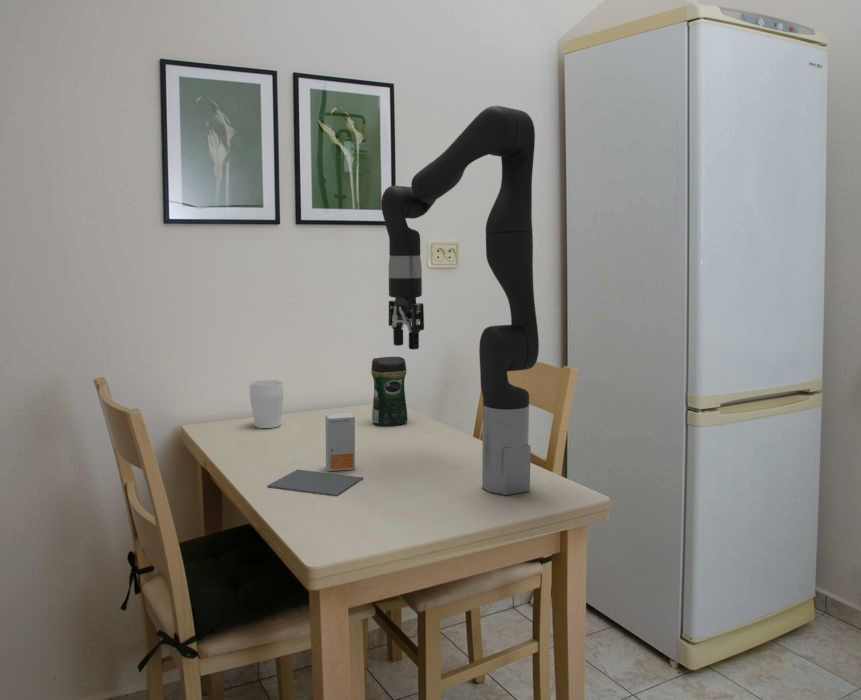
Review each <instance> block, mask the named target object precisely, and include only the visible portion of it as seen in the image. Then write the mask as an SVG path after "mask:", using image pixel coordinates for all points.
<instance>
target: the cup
mask: <svg viewBox="0 0 861 700" xmlns="http://www.w3.org/2000/svg"><path fill="white" fill-rule="evenodd" d="M283 384H284V382H283V381H282V380H276V379H263V380H261V379H260V380H255V381H252V382H249V398H250V403H251V410H252V415H253V420H254V426H256V427H255V428H257V427H258V428H257V429H260V428H272V429H275V428H274V427H276V428H279V427H280V426H281V422H282V411H283V404H284V396H285V395H284V393H285V391H284V385H283ZM278 426H279V427H278Z"/></svg>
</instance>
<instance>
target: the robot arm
mask: <svg viewBox="0 0 861 700" xmlns="http://www.w3.org/2000/svg"><path fill="white" fill-rule="evenodd" d="M535 139H536V131H535V125H534V121H533V119H532V117H531V116H530V115H529V113H527V112H525V111H524V110H520V109H517V108H511V107H506V106H503V105H490V106H489V107H487V108H484V109H483V110H482V111H481V112H480V113H478V115H477V116H475V118H474V119H473V120H472V121H471V122H470V123H469V125H467V126H466V127H465V129H464V130H463V131H462V132H461V133H460V134H459V135H458V136H457V137H456V138H455V140H454V141H453V142H452V143H451V144H450V145H449V146H448V147H447V148H446V149H445V151H444V152H443V153H441V154H440V155H439V156H438V157H437V158H435V159H434V160H433V161H431V162H430V163H428V164H427V165H426V166H425V167H423V168H422V169H421V170H419V171H418V172H417V173H416V174H414V176H413V178H412V179H411V183H410V184H411V186H404V185H403V186H401V185H391V186H388V187H387V188H386V189H385V190H384V192H383V194H382V197H381V201H380V202H381V204H380V205H381V212H382V216H383V220H384V223H385V227H386V231H387V235H388V237H389V238H388V240H389V243H388V244H389V245H388V246H389V251H388V252H389V260H388V296H389V297H390V298H393V300H389V301H388V326H389V327H390V326H391V329H392V330H393V345H394V346H396V347H397V346H398V347H400V346H403V344H404V325H406V327H407V330H408V348H409V350H419V349H420V333H421V331H424V329H425V315H424V314H425V312H424V308H425V307H424V303H423V302H419V303H417V298H420V297H422V295H423V277H422V276H423V275H422V272H423V270H422V269H423V268H422V267H423V266H422V259H421V234H420V232H419V231H418V230H416V229H413V228H410V227H409V225H408V222H407V219H413V220H414V219H417V218H421V217H422V216H424V215H426V214H427V213H428V212H429V211H430V209H431V208H432V206H433V205H434V204H435V203H436V200H438V199H439V198H441V197H443V196H444V195H446V194H447V193H448V192H449V191H451V190H452V189H453V188H454V187H456V186H457V185H458V183H460V181H461V179H462V177H463V175H464V173H465V171H466V168H468V167H469V165H470V164H472V163H473V162H475V161H477V160H479V159H481V158H482V157H486V156H488V155H490V156H494V157H500V160H501V183H500V188H499V192H498V194H497V196H496V198H495V201H494V203H493V205H492V207H491V210H490V212H489V215H488V217H487V219H486V223H485V253H486V255H485V256H486V261H487V264H488V266H489V268H490V271H491V272H492V274H493V276H494V277H495V278H496V280H497V281H498V283H499V286H501V288H502V290H503V292H504V293H505V295H506V299H507V301H508V305H509V310H510V311H509V312H510V322H511V324H503V325H502V324H501V325H499V324H498V325H490V326H488V327H486V328H484V330H483V331H482V333H481V336H480V340H479V346H478V347H479V348H478V349H479V352H478V353H479V372H480V373H479V376H480V377H479V378H480V379H479V380H480V389H481V393H482V451H481V452H482V456H481V457H482V460H481V461H482V463H481V465H482V467H481V468H482V469H481V470H482V473H481V475H482V476H481V477H482V479H481V480H482V481H481V482H482V486H481V487H482V488H483V490H485V491H487V492H489V493H495V494H499V495H502V496H509V495H515V494H520V493H526V492H530V491H531V444H529V428H530V426H529V423H530V422H529V421H530V420H529V419H530V393H529V392H528V390H526V389H525V388H522V387H520V386H515V385H513V384H511V383H510V382H509V377H508V372H515V371H526V370H530V369H532V368H534V367H535V365H536V363H537V361H538V358H539V351H540V347H539V346H540V345H539V344H540V343H539V342H540V341H539V330H538V322H537V321H538V320H537V313H536V312H537V311H536V305H535V304H536V303H535V293H534V292H535V290H534V266H533V264H534V262H533V261H534V259H533V257H534V255H533V254H534V242H533V241H534V237H533V214H532V213H533V211H532V210H533V209H532V208H533V207H532V205H533V202H532V201H533V200H532V198H533V197H532V196H533V195H532V193H533V191H532V190H533V169H534V156H535V146H536V145H535V141H536V140H535Z"/></svg>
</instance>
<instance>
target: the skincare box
mask: <svg viewBox="0 0 861 700" xmlns="http://www.w3.org/2000/svg"><path fill="white" fill-rule="evenodd" d="M355 422H356V418H355V415H354V414H353V413H351V412H349V413H347V412H346V413H333V414H331V413H330V414H325V467H326V468H327V471H328V472H335V471H336V472H337V471H338V472H339V471H355V469H356V443H355V442H356V425H355V424H356V423H355Z"/></svg>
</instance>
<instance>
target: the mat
mask: <svg viewBox="0 0 861 700" xmlns="http://www.w3.org/2000/svg"><path fill="white" fill-rule="evenodd" d="M363 480H364V477H362V476H355V475H347V474H338V473H331V472H330V473H329V472H323V471H322V472H321V471H320V472H319V471H313V470H304V469H296V470H294V471H292V472H290V473H288V474H286V475H284V476H282V477H280V478H279V479H277V480H275V481H273V482H271V483H269V484H268V485H266V487H267V486H268V487H267V488H270V487H274V488H273V489H278V488H282V489H281V490H285V489H291V490H290V491H293V490H299V491H298V492H300V491H306V492H305V493H308V492H312V493H311V494H316V493H319V494H318V495H323V494H325V496H331V495H333V496H332V497H338V496H340V495H341V494H343V493H344V492H346V491H347V490H348V488H349V489H350V488H351V487H353V486H355V485H356V484H357V483H359V482H361V481H363ZM345 490H346V491H345ZM342 492H343V493H342ZM339 494H340V495H339Z"/></svg>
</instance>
